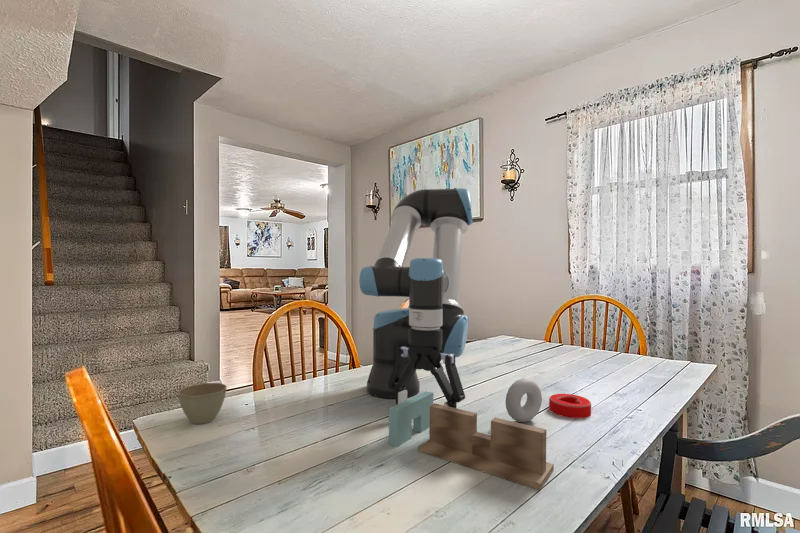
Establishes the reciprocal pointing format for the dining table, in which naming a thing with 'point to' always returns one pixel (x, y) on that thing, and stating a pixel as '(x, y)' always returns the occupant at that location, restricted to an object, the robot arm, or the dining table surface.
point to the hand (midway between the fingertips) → (424, 425)
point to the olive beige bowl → (202, 401)
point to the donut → (516, 395)
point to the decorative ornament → (570, 405)
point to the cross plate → (409, 418)
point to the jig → (489, 446)
